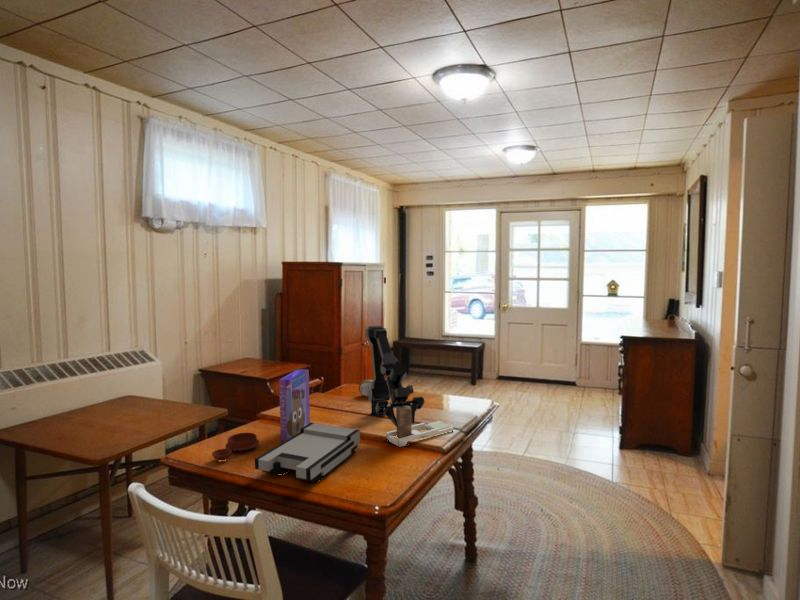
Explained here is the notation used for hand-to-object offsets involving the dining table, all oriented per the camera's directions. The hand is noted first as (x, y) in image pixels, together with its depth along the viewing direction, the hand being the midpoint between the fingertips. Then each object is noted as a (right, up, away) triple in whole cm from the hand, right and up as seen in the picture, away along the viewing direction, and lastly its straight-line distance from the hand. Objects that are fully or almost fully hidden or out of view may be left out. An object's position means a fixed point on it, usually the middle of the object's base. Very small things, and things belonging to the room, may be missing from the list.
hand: (405, 425), depth 182 cm
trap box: (+6, -6, +7) cm, 11 cm away
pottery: (-61, -8, -8) cm, 62 cm away
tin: (-15, -1, +61) cm, 62 cm away
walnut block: (0, -6, +2) cm, 6 cm away
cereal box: (-44, -6, +11) cm, 45 cm away
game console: (-32, -9, -18) cm, 38 cm away
